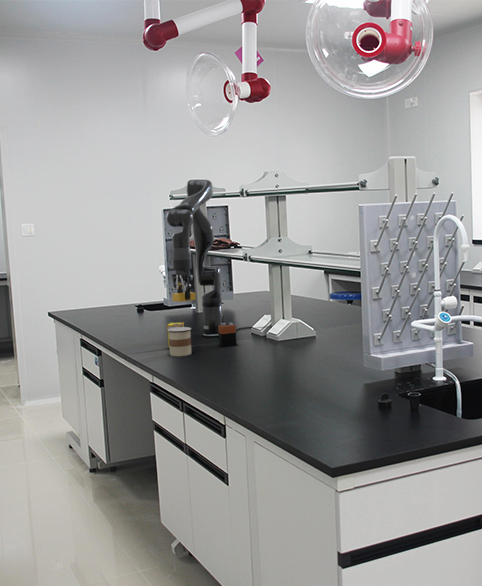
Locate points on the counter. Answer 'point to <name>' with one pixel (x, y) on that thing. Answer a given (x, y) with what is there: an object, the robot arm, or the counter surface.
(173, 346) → the striped brown canister
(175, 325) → the supplement box
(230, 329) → the battery
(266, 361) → the counter surface
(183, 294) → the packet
